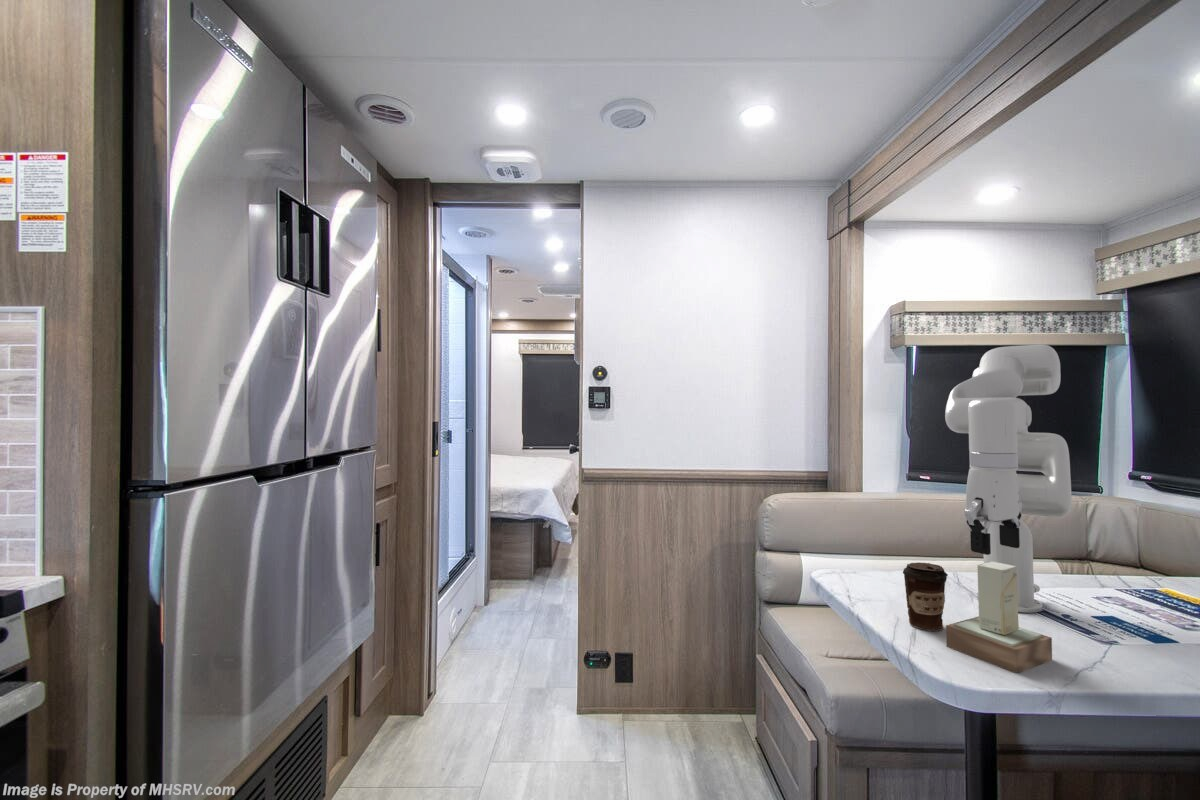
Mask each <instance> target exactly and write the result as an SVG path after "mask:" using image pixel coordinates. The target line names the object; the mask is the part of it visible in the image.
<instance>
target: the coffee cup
mask: <svg viewBox="0 0 1200 800" xmlns="http://www.w3.org/2000/svg"><path fill="white" fill-rule="evenodd" d="M902 574H903V575H904V577H903V578H904V587H905V596H906V606H907V614H908V622H909V624H910V626H912V627H914V628H917V629H920V630H925V631H933V632H934V631H935V632H936V631H942V630H944V628H945V627H944V624H943V614H944V607H945V602H946V597H945V596H946V593H945V586H946V582H947V579H948V578H947V577H948V575H949V574H948V573H946V571H945V568H944V567H943V566H941V565H939V564H933V563H930V562H928V563H927V562H911V563H906V566H905V567H904V568H903V571H902Z"/></svg>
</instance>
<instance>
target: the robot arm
mask: <svg viewBox="0 0 1200 800" xmlns="http://www.w3.org/2000/svg"><path fill="white" fill-rule="evenodd" d="M1061 376H1062V375H1061V362H1060V358H1059V355H1058V352H1057V351H1056V350H1055V349H1054V348H1053V347H1052V346H1050V345H1049V344H1043V343H1041V344H1040V343H1039V344H1029V345H1025V344H1024V345H1023V344H1022V345H1009V346H1008V345H1007V346H1000V347H995V348H992V349H990V350H988V351H986V352H985V353H984V354H983V355H982V357H981V358H980V361H979V366H978V367H977V368H975V369H974V370H973V372H972V376H971V377H970V378H969V379H966V380H964V381H962V382H960V383H959V384H957V385H956V386H954V387H953V388H952V390H951V391H950V393H949V395H948V399H947V401H946V405H945V412H944V414H945V415H944V418H945V419H944V420H945V423H946V426H947V427H948V428H949V430H951V431H953V432H955V433H957V434H968V451H969V453H968V455H969V469H968V473H967V474H968V475H967V480H966V481H967V482H966V489H965V490H966V492H965V509H964V516H965V518H966V524H967V526H968V531H969V532H970V533H969V534H970V550H971V552H974V553H977V554H981V555H983V563H987V562H991V561H993V562H997V563H1003V564H1008V565H1013V566H1016V571H1017V596H1018V613H1026V614H1027V613H1030V614H1031V613H1039V612H1042V611H1043V609H1044V607H1043V603H1042V602H1041V601H1039V600H1038V599H1035V594H1036V593H1038V592H1040V591H1041V588H1040V586H1039V585H1038V584H1036V583H1035V582H1034V579H1035V578H1034V577H1035V576H1034V553H1033V552H1034V549H1033V547H1034V546H1033V543H1034V542H1033V534H1032V531H1031V529H1030V528H1029V526H1028V525H1027V524H1026V523H1025V522H1024V520H1022V519H1021V518H1022V515H1031V516H1039V517H1052V518H1062V517H1065V516H1067V515H1069V514H1070V512H1071V509H1072V503H1073V502H1072V501H1073V499H1072V480H1071V479H1072V478H1071V461H1070V460H1071V459H1070V452H1069V451H1070V450H1069V445H1068V443H1067V441H1066V439H1065V438H1064V437H1063V436H1062V435H1060V434H1057V433H1051V432H1029V431H1028V427H1030V426H1031V424H1032V421H1033V420H1032V414H1033V413H1032V409H1031V407H1030V405H1028V404H1027V402H1025V400H1023V399H1021V398H1019V397H1018V396H1046V395H1052V394H1054V393H1056V392H1057V391H1058V390H1059V388H1060V385H1061ZM1017 471H1019V472H1021V471H1023V472H1038V473H1042V474H1023V473H1017ZM981 522H982V523H981ZM976 598H977V600H978V592H976Z"/></svg>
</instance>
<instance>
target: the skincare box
mask: <svg viewBox="0 0 1200 800" xmlns="http://www.w3.org/2000/svg"><path fill="white" fill-rule="evenodd" d="M976 568H977V593H978V599H977V600H978V616H979V628H982V629H985V630H988V631H991V632H994V633H998V634H1002V635H1006V634H1009V633H1011V632H1014V631H1016V630H1018V629H1019V627H1020V625H1019V612H1018V596H1017V571H1016V566H1013V565H1008V564H1003V563H997V562H993V561H991V562H987V563H984V562H983V563H981V564H980V563H979V564H978V565H977V567H976Z"/></svg>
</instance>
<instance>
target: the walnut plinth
mask: <svg viewBox="0 0 1200 800" xmlns="http://www.w3.org/2000/svg"><path fill="white" fill-rule="evenodd" d="M945 635H946V636H945V638H946V639H945V640H946V641H945V643H946V644H945V646H946V647H947V648H950V649H953V650H955V651H958V652H960V653H963V654H965V655H968V656H971V657H974V658H975V659H978V660H981V661H983V662H986V663H988V664H990V665H994V666H996V667H998V668H1002V669H1004V670H1006V671H1009V672H1011V673H1014V674H1018V673H1021V672H1025V671H1026V670H1029V669H1031V668H1034V667H1037V666H1039V665H1042V664H1045V663H1047V662H1050V661H1052V660H1053V644H1052V643H1053V639H1052V638H1053V637H1051V636H1048V635H1045V634H1042V633H1039V632H1035V631H1033V630H1029V629H1026V628H1024V627H1020V626H1019V629H1018V630H1016V631H1014V632H1011V633H1009V634H1006V635H1002V634H998V633H994V632H991V631H988V630H985V629H982V628H979V615H978V616H975V617H972V618H971V617H970V618H968V619H964V620H960V621H958V622H953V623H949V624H946V625H945Z"/></svg>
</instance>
